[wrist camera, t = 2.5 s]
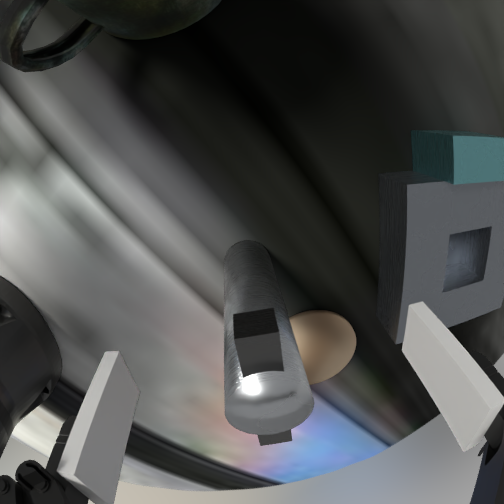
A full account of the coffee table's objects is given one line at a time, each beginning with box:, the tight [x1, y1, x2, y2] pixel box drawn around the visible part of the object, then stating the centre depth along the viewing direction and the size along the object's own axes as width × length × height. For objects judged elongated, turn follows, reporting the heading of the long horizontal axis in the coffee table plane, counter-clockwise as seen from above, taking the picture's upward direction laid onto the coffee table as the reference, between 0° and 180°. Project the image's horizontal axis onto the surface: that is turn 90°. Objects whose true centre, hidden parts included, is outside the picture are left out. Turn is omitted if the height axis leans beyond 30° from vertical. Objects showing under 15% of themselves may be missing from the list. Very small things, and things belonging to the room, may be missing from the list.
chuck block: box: [376, 130, 504, 344], centre depth 20 cm, size 12×15×5 cm
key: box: [224, 240, 314, 446], centre depth 16 cm, size 3×6×13 cm, turn 9°
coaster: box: [289, 310, 356, 385], centre depth 25 cm, size 8×8×1 cm
